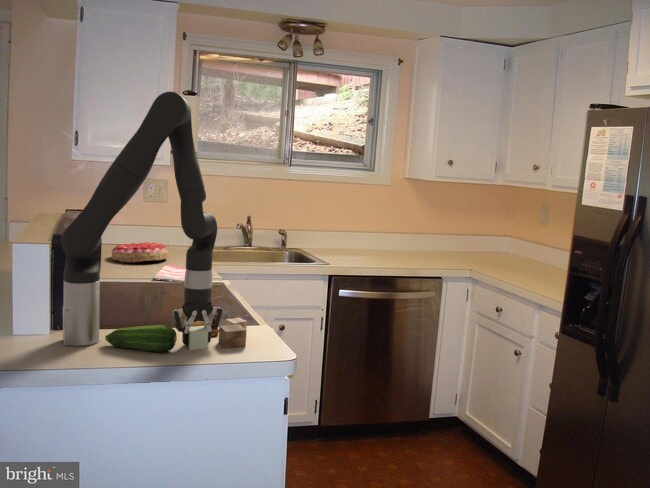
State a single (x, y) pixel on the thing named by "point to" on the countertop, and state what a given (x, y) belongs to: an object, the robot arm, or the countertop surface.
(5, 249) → the countertop surface
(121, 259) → the cake
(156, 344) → the vegetable
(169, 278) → the dish towel
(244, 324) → the birch block
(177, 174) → the robot arm
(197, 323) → the pastry
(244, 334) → the walnut block
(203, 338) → the sage cube
